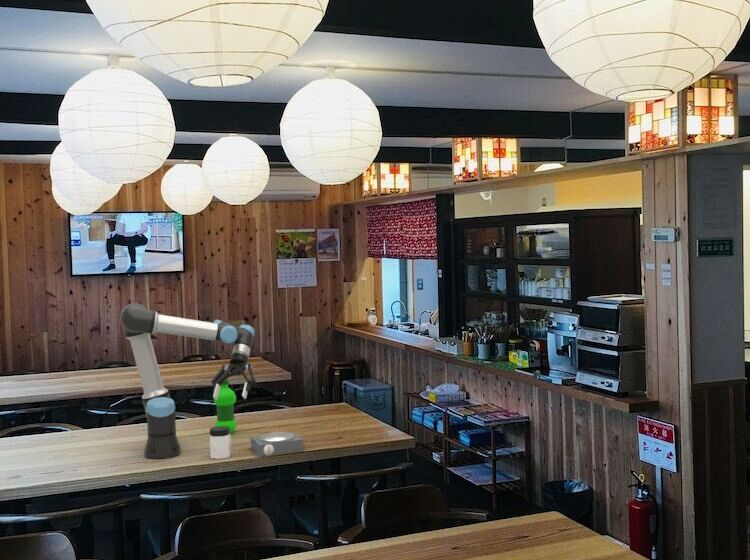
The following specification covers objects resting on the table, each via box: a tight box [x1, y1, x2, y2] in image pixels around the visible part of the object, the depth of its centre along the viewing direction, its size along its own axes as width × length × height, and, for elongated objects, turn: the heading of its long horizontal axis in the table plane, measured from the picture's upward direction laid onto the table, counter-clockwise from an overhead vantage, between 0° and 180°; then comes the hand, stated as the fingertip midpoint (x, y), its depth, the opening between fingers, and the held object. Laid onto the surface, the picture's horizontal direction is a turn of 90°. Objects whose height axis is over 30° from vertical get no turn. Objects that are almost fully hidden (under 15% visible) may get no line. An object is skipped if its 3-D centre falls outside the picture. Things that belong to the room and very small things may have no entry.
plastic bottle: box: [213, 379, 237, 435], centre depth 381 cm, size 10×10×25 cm
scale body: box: [250, 431, 304, 458], centre depth 348 cm, size 19×17×5 cm
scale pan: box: [258, 431, 294, 443], centre depth 348 cm, size 15×15×1 cm
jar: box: [209, 426, 232, 460], centre depth 339 cm, size 9×8×12 cm
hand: (229, 397), depth 349 cm, fingers open, 13 cm apart
